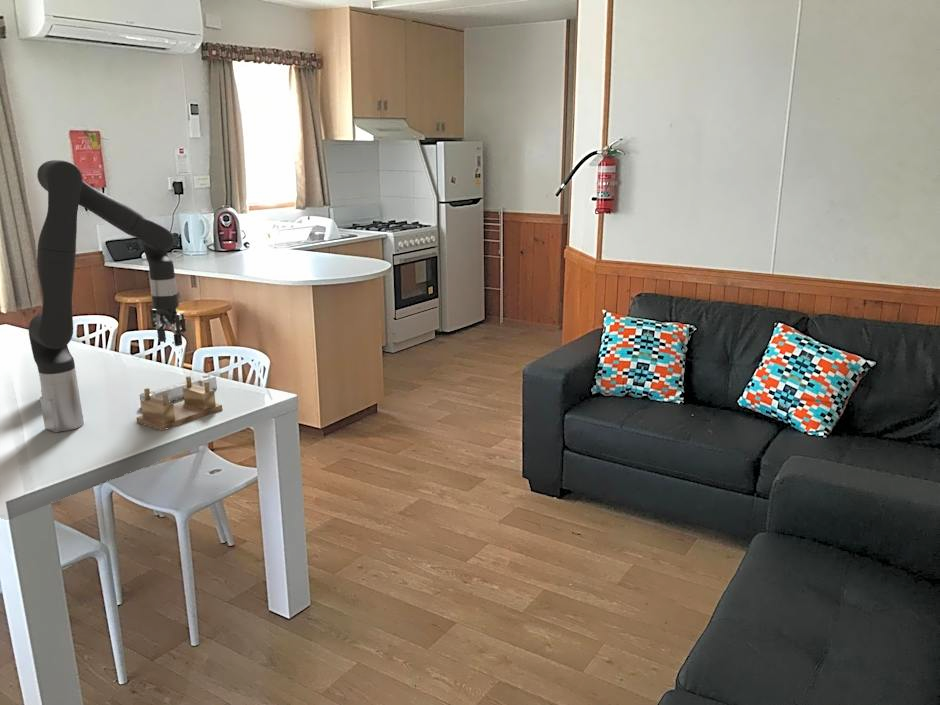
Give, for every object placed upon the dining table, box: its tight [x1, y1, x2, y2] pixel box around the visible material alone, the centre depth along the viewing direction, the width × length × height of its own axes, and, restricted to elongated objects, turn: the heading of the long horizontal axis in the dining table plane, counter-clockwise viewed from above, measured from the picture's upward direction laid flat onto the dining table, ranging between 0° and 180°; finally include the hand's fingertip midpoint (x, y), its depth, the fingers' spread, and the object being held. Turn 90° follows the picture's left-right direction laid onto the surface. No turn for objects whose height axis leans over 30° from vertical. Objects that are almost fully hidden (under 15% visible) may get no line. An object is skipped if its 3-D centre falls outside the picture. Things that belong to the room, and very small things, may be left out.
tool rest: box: [135, 375, 223, 431], centre depth 225 cm, size 21×12×10 cm, turn 145°
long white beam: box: [139, 373, 218, 409], centre depth 241 cm, size 26×5×4 cm, turn 145°
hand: (170, 343), depth 236 cm, fingers open, 8 cm apart
